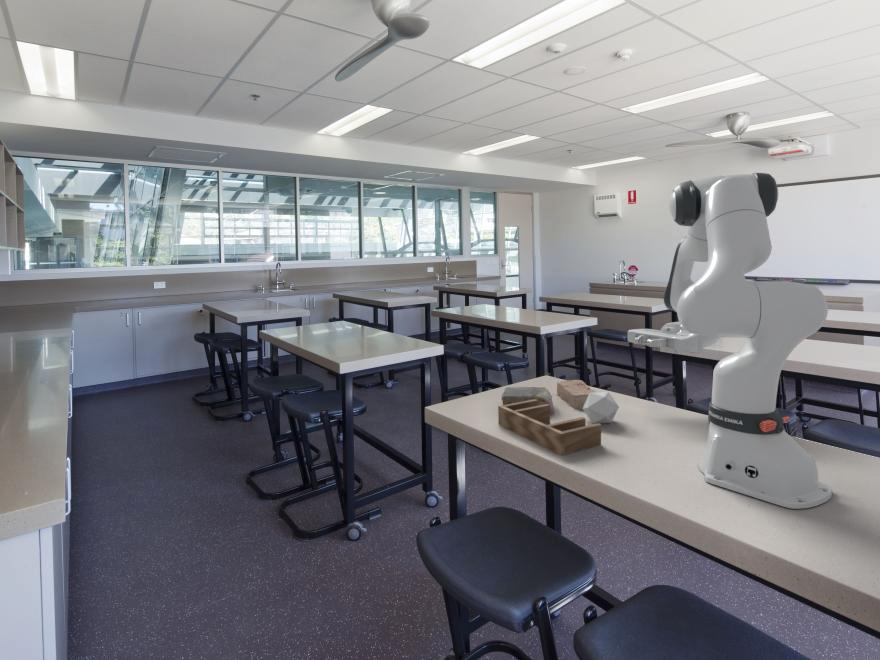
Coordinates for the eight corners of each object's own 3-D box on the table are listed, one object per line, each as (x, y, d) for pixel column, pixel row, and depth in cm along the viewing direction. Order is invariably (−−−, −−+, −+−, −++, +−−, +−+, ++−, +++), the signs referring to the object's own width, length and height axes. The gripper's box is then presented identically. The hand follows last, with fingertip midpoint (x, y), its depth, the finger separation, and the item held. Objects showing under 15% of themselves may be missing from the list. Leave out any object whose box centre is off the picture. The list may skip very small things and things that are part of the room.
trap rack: (600, 444, 122) (601, 424, 121) (561, 455, 116) (561, 434, 116) (534, 416, 144) (534, 399, 143) (498, 424, 138) (498, 406, 137)
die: (612, 431, 133) (628, 398, 134) (582, 414, 134) (598, 382, 135) (602, 432, 141) (617, 401, 142) (573, 416, 142) (589, 385, 143)
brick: (601, 408, 151) (602, 392, 150) (574, 409, 150) (574, 394, 149) (580, 393, 167) (581, 379, 166) (555, 394, 166) (555, 380, 166)
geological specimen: (501, 386, 158) (551, 384, 156) (502, 406, 159) (552, 404, 157) (500, 395, 148) (554, 393, 145) (501, 416, 148) (555, 414, 146)
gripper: (646, 322, 158) (613, 326, 151) (708, 330, 140) (674, 335, 133) (645, 342, 158) (613, 347, 152) (707, 353, 141) (673, 359, 134)
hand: (642, 342), depth 143 cm, fingers open, 3 cm apart
